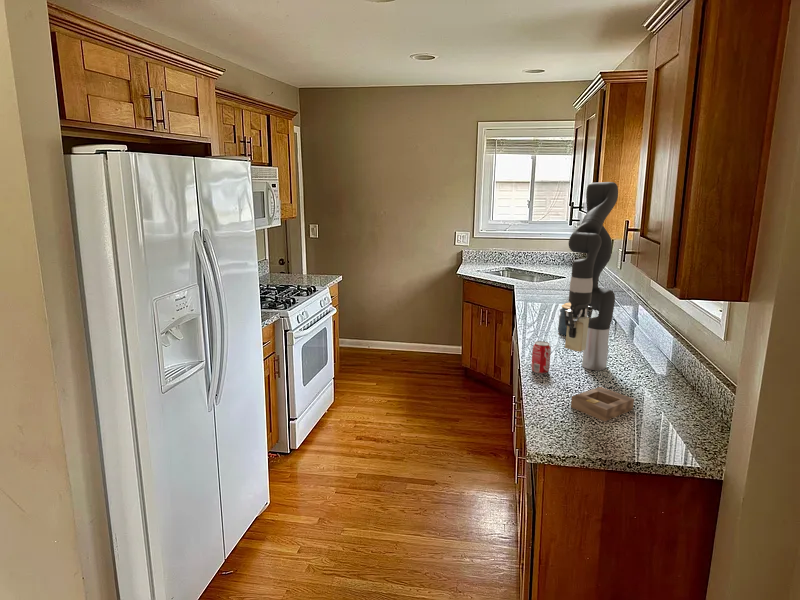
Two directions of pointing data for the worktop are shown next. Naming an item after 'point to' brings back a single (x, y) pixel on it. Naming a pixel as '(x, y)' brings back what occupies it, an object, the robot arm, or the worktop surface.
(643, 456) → the worktop surface
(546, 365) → the soda can
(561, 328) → the canister
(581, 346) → the skincare box
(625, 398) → the brown square frame block
